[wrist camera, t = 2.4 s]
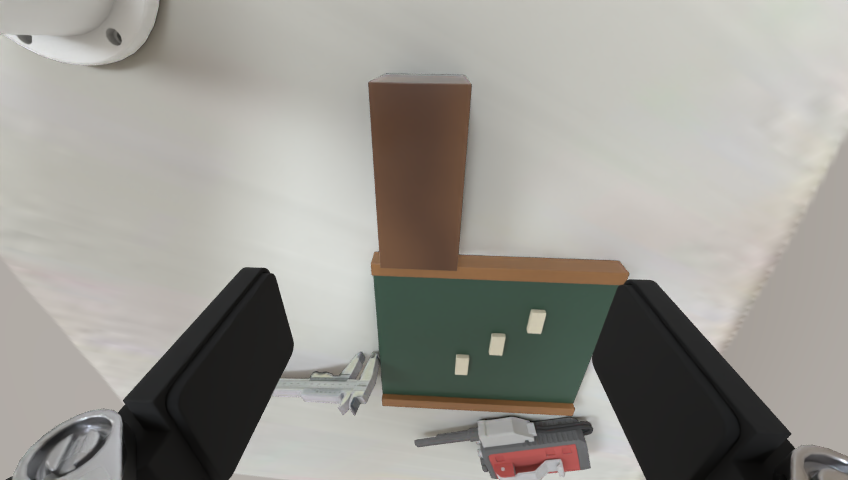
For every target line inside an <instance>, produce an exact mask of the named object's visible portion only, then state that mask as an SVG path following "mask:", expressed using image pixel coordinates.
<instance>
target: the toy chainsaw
mask: <svg viewBox="0 0 848 480" xmlns="http://www.w3.org/2000/svg"><path fill="white" fill-rule="evenodd" d="M592 431H593V428H592V425H591V423H589V422H584V421H581V422H578V420H577V419H574V418H571V417H567V418H560V419H552V420H545V421H538V422H530V421H528V420H524V419H520V418H516V417H507V418H500V419H493V420H480V421H478V427H477V428H470V429H468V430H466V431H458V432H451V433H444V434H438V435H437V436H436V437H431V438H424V439H418V440H415V445H416V446H417V447H423V446H431V445H438V444H446V443H454V442H461V441H469V440H470V441H471V442H472V441H476V443H477V444H481V449H478V456H479V457H480V459H481V465H482V469H483V471H484V472H488V471H489V473H490V476H491V478H494V479H499V480H541V479H542V478H543V477H544V476H545V475H546V474H548V473H557V472H558V474H559V476H562V477H564V476H565V472H566V471H576V470H584V469H589V468H591V467H590V461H589V454H588V448H587V444H586V441H585V438H584V435H589V434H591V433H592Z"/></svg>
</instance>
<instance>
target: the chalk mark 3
mask: <svg viewBox="0 0 848 480" xmlns="http://www.w3.org/2000/svg"><path fill="white" fill-rule="evenodd" d="M545 317H546V311H545V310H537V309H531V312H530V316H529V320H528V325H527V329H526V330H527V333H533V334H541V332H542V328H543V325H544V321H545Z"/></svg>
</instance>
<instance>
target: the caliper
mask: <svg viewBox="0 0 848 480" xmlns="http://www.w3.org/2000/svg"><path fill="white" fill-rule="evenodd" d="M364 361H365V357H364V355H363V353H362V352H360V353H358V354H357V355H356V356H355V357H354V358H353V359H352V361H351V362H350V363H349V364H348V365H347V367H346V368H345V369H344V370H343V371H342V373H341V374H340V375H339V376H334V375H333V374H331V373H329V372H323V373H319V372H317V371H315V372H313V373H312V375H311V376H310V378H280V379H279V381H278V383H277V386H276V388H275V390H274V392H273V394H272V396H284V397H301V398H302V399H303V400H304V401H306V402H322V403H338V404H340V405H339V407H338V409H339V410H340V412H341V413H342V414H343V415H344V414H345V413H346V412H347V411H348V410H349V409H350V410H351V412H352V413H353V415H354V416H355V414H356V412H357V410H358V408H359V406H360V404H366V403H367V401H368V398H369V396H370V394H371V392H372V390H373V388H374V386H375V384H376V379H377V374H378V369H379V364H380V359H379V358H378V356H377V354H376V353H375V352H373V353H372V355H371V357H370V359H369V361H368V363H367V365H366V367H365V369H364V371H363V373H362V374H361V376H360V378H359V380H356V378H357V376H358V374H359V372H360V370H361V368H362V366H363V365H362V364H363V362H364Z"/></svg>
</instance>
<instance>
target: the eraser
mask: <svg viewBox="0 0 848 480" xmlns="http://www.w3.org/2000/svg"><path fill="white" fill-rule="evenodd" d="M368 87H369V102H370V118H371V133H372V148H373V164H374V179H375V194H376V210H377V225H378V240H379V256H380V268H392V269H418V270H444V271H457V266H458V254H459V241H460V228H461V215H462V203H463V190H464V177H465V164H466V151H467V139H468V126H469V113H470V100H471V87H472V84H471V83H470V81H469V80H468V79H467V77H466V76H465V75H443V74H389V73H386V74H384V75H382V76H380V77H378V78H376V79H374V80H372V81H370V82H368Z"/></svg>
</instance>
